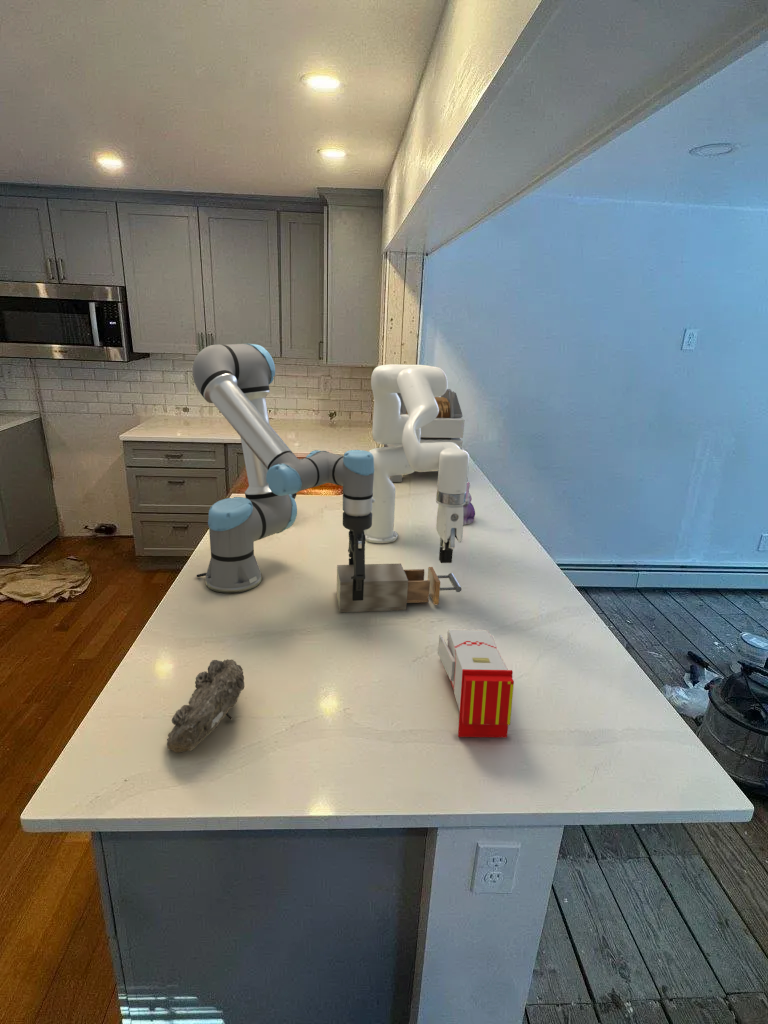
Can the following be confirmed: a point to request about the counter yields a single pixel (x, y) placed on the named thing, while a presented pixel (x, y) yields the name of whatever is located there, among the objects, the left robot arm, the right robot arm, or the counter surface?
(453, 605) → the counter surface
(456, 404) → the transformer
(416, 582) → the drawer
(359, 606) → the grey boxy block
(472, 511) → the figurine
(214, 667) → the fossil
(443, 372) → the right robot arm
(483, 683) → the toy
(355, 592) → the left robot arm
